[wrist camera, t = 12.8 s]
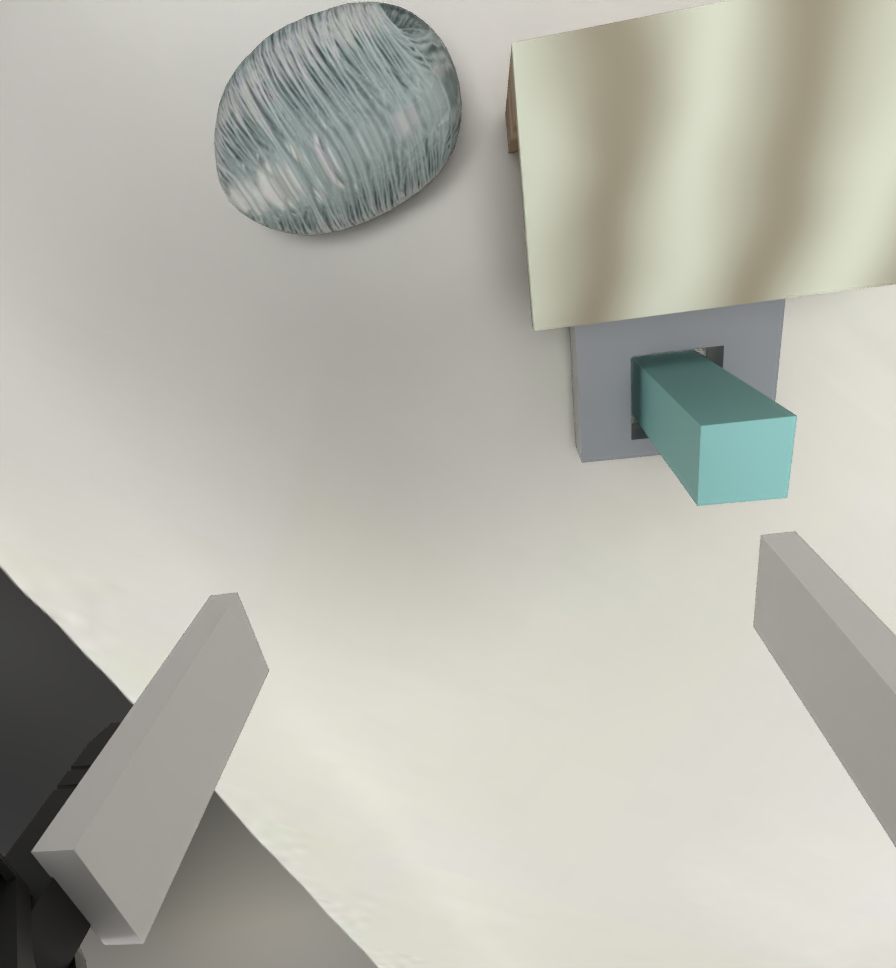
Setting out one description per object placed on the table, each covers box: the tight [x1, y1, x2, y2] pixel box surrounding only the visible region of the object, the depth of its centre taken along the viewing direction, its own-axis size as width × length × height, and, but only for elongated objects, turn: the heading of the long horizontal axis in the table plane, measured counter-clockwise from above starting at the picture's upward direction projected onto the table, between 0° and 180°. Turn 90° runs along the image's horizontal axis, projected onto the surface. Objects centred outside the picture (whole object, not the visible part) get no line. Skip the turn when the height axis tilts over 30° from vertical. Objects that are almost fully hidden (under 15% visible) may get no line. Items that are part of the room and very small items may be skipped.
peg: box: [632, 350, 797, 506], centre depth 32 cm, size 4×4×14 cm
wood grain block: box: [505, 0, 896, 331], centre depth 27 cm, size 18×10×14 cm, turn 98°
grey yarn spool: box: [214, 2, 461, 235], centre depth 30 cm, size 14×10×10 cm
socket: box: [570, 299, 785, 463], centre depth 36 cm, size 12×14×3 cm
